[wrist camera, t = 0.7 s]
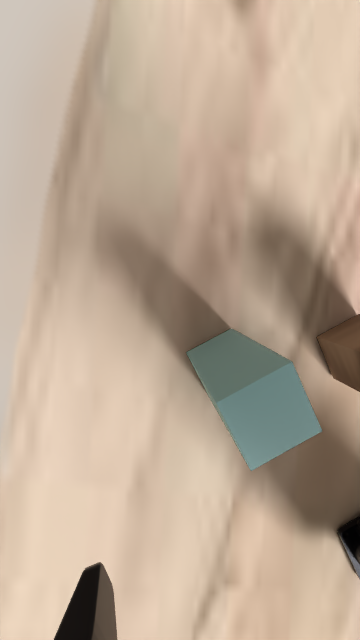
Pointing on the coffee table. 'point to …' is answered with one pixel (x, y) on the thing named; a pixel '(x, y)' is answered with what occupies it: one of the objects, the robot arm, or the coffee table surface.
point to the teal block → (255, 396)
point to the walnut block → (343, 351)
